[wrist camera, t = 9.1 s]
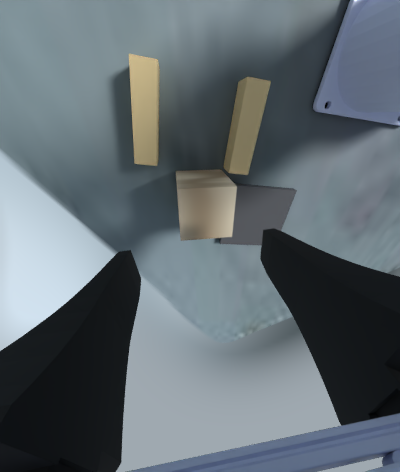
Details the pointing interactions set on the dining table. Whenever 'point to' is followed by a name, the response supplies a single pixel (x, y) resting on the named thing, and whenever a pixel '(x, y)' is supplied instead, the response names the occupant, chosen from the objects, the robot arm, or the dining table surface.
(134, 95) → the pair of wooden bars
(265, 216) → the rubber mat
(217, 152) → the dining table surface
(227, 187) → the plug block
